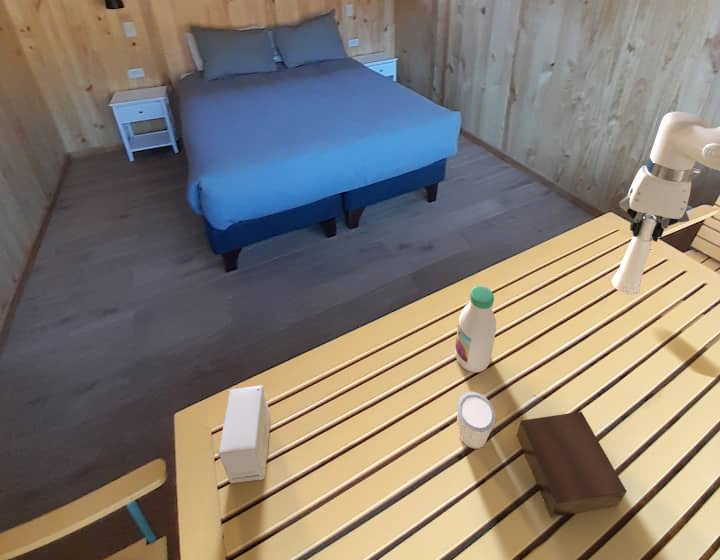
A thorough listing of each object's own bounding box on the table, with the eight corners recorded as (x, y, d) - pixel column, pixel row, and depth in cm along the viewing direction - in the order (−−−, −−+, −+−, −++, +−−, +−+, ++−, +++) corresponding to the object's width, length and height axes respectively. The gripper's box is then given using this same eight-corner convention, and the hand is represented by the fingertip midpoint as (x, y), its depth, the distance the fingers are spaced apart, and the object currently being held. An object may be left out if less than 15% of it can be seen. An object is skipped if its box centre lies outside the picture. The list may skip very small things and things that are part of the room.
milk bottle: (489, 345, 92) (501, 283, 83) (489, 377, 86) (503, 314, 76) (455, 337, 94) (463, 275, 85) (453, 368, 87) (461, 305, 78)
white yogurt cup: (446, 431, 77) (449, 410, 73) (466, 404, 81) (469, 383, 78) (478, 461, 72) (483, 441, 69) (497, 431, 77) (502, 410, 73)
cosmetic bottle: (643, 298, 98) (671, 227, 88) (615, 293, 99) (640, 223, 89) (635, 279, 103) (660, 210, 93) (608, 275, 104) (631, 206, 95)
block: (575, 426, 77) (581, 411, 75) (618, 506, 66) (627, 491, 64) (516, 435, 76) (520, 420, 74) (550, 517, 65) (556, 503, 63)
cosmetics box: (238, 419, 79) (229, 387, 74) (271, 415, 80) (264, 384, 75) (227, 484, 70) (216, 453, 65) (264, 480, 70) (256, 448, 66)
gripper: (711, 167, 85) (683, 234, 93) (621, 153, 92) (602, 217, 100) (721, 186, 79) (690, 256, 87) (625, 169, 86) (604, 236, 94)
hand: (644, 234), depth 94 cm, fingers closed on cosmetic bottle, 3 cm apart
